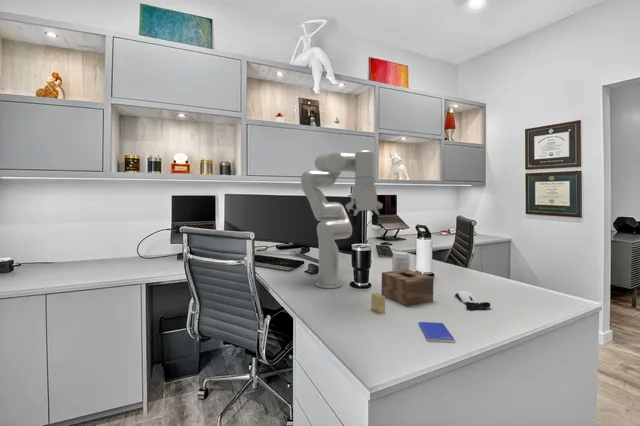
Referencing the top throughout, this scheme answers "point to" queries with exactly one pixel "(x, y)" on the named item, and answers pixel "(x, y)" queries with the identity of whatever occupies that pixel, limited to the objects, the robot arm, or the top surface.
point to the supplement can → (400, 261)
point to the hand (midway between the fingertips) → (365, 225)
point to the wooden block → (378, 302)
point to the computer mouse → (471, 301)
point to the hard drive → (436, 332)
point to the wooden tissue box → (407, 287)
